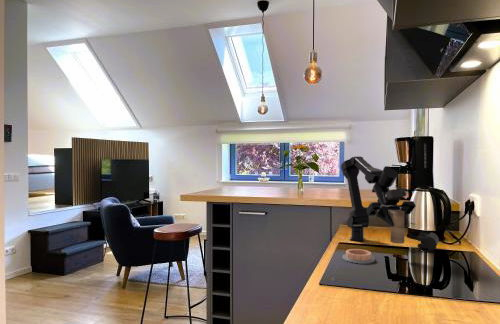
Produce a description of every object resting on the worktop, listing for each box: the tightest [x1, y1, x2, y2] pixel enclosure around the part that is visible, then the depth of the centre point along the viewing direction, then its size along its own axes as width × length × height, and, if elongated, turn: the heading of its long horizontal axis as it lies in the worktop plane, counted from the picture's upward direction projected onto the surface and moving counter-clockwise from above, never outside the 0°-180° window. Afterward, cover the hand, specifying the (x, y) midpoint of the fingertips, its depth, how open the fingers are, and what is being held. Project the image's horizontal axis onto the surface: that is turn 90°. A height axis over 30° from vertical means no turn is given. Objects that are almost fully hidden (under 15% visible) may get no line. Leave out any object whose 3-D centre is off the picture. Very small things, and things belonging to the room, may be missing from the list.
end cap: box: [417, 231, 440, 253], centre depth 151 cm, size 10×7×7 cm
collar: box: [342, 248, 375, 265], centre depth 137 cm, size 12×12×3 cm
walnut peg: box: [389, 210, 405, 245], centre depth 136 cm, size 5×5×12 cm
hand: (399, 225), depth 135 cm, fingers closed on walnut peg, 5 cm apart
